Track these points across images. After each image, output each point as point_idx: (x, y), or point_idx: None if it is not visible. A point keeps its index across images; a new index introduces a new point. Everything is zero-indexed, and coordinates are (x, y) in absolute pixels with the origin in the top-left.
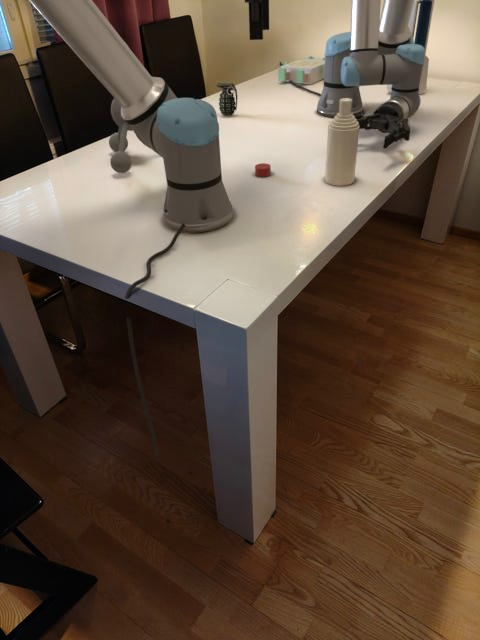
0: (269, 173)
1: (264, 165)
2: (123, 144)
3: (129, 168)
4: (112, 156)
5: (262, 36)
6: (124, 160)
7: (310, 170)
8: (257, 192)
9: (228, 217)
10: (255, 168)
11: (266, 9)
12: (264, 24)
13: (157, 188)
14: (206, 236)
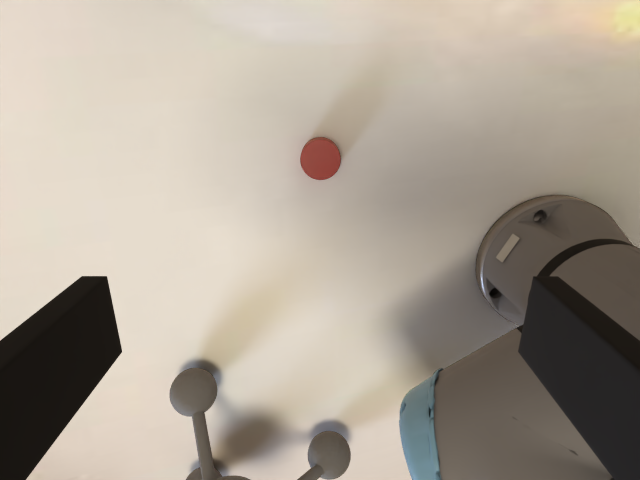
0: (328, 139)
1: (316, 155)
2: (311, 478)
3: (334, 432)
4: (339, 476)
5: (566, 285)
6: (343, 451)
7: (289, 26)
8: (430, 157)
9: (585, 201)
10: (327, 177)
11: (21, 377)
12: (93, 324)
13: (397, 360)
14: (625, 230)
